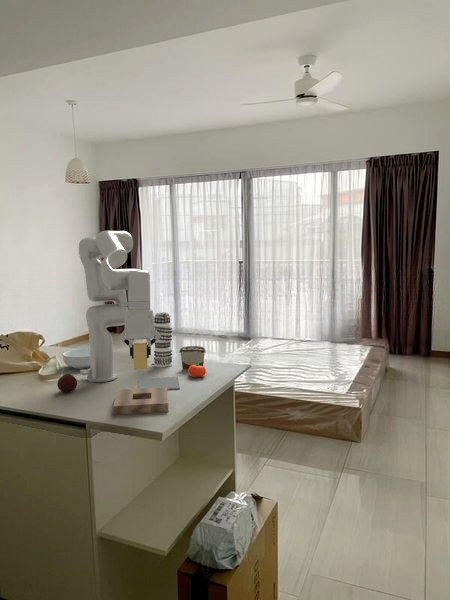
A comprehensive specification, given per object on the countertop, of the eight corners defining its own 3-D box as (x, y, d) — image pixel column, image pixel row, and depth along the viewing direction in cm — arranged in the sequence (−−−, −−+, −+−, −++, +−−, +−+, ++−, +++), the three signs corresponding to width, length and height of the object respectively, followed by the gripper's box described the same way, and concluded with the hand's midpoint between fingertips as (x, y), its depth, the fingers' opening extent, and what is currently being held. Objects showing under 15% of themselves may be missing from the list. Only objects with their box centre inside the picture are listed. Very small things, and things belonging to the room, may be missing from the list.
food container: (207, 366, 206) (207, 345, 205) (206, 370, 200) (205, 348, 199) (182, 366, 208) (181, 345, 206) (179, 369, 201) (179, 348, 200)
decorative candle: (150, 363, 213) (149, 312, 210) (168, 361, 217) (167, 311, 214) (157, 368, 204) (155, 315, 202) (175, 365, 209) (174, 313, 206)
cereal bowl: (55, 370, 203) (54, 355, 202) (77, 361, 218) (76, 347, 218) (87, 372, 198) (86, 357, 197) (107, 363, 213) (107, 349, 213)
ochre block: (133, 369, 152) (133, 344, 151) (134, 366, 156) (134, 341, 155) (147, 369, 152) (146, 343, 151) (147, 366, 157) (146, 341, 156)
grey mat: (138, 391, 170) (138, 390, 170) (139, 379, 186) (139, 378, 186) (179, 389, 172) (179, 387, 172) (177, 378, 188) (177, 376, 188)
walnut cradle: (113, 415, 145) (113, 406, 145) (118, 397, 163) (118, 389, 163) (168, 411, 148) (168, 403, 148) (167, 394, 166) (167, 387, 165)
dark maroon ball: (56, 396, 165) (55, 378, 164) (58, 389, 173) (57, 372, 172) (77, 394, 167) (76, 376, 166) (78, 388, 175) (77, 371, 174)
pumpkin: (194, 374, 195) (195, 360, 195) (208, 377, 190) (209, 363, 190) (183, 376, 190) (184, 361, 190) (197, 379, 185) (198, 364, 185)
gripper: (113, 307, 147) (114, 361, 149) (164, 306, 149) (165, 359, 151) (115, 305, 154) (116, 355, 156) (163, 304, 157) (164, 354, 159)
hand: (140, 357), depth 154 cm, fingers closed on ochre block, 4 cm apart
